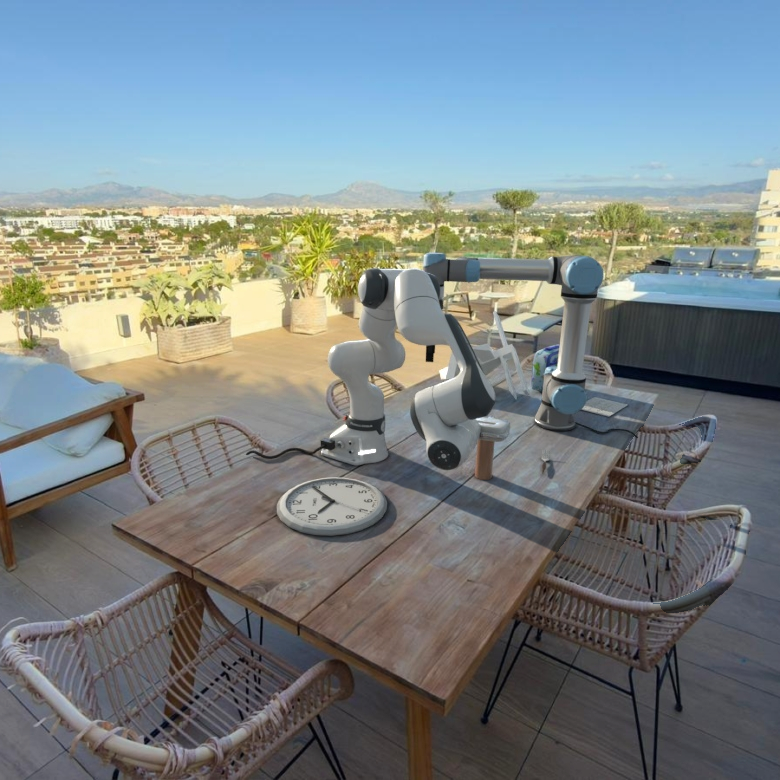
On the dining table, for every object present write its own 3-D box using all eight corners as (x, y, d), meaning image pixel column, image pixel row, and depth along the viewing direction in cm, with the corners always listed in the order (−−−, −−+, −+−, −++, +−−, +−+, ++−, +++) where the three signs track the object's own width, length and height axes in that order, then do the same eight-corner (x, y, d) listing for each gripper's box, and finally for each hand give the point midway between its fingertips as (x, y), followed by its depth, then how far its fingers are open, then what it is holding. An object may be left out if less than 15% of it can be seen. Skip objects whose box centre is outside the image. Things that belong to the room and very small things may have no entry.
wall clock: (392, 527, 129) (268, 531, 127) (391, 533, 130) (269, 537, 127) (383, 473, 158) (282, 475, 155) (383, 478, 158) (282, 480, 156)
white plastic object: (461, 429, 252) (437, 405, 227) (444, 352, 274) (420, 323, 250) (535, 404, 240) (518, 377, 215) (510, 326, 262) (492, 293, 237)
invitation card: (608, 416, 214) (573, 407, 224) (608, 416, 214) (573, 408, 224) (628, 404, 229) (594, 396, 238) (628, 405, 229) (594, 397, 238)
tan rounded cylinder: (489, 481, 158) (493, 429, 153) (472, 477, 160) (476, 426, 155) (493, 474, 162) (497, 423, 157) (477, 471, 164) (481, 421, 159)
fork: (538, 474, 162) (538, 468, 162) (542, 454, 177) (542, 449, 176) (546, 475, 162) (547, 470, 161) (550, 455, 176) (550, 450, 175)
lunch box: (547, 397, 237) (552, 352, 231) (526, 391, 245) (531, 348, 238) (574, 386, 255) (580, 344, 249) (554, 381, 262) (559, 340, 256)
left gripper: (507, 425, 118) (515, 409, 130) (420, 414, 125) (436, 400, 137) (505, 452, 119) (513, 433, 132) (419, 439, 126) (435, 423, 139)
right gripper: (424, 293, 195) (422, 349, 202) (419, 302, 172) (417, 365, 178) (444, 294, 195) (441, 350, 201) (442, 303, 171) (439, 366, 177)
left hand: (473, 416), depth 135 cm, fingers open, 8 cm apart
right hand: (430, 357), depth 190 cm, fingers open, 13 cm apart
